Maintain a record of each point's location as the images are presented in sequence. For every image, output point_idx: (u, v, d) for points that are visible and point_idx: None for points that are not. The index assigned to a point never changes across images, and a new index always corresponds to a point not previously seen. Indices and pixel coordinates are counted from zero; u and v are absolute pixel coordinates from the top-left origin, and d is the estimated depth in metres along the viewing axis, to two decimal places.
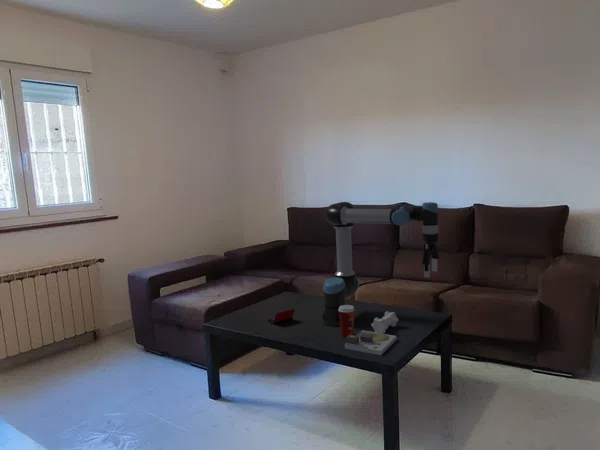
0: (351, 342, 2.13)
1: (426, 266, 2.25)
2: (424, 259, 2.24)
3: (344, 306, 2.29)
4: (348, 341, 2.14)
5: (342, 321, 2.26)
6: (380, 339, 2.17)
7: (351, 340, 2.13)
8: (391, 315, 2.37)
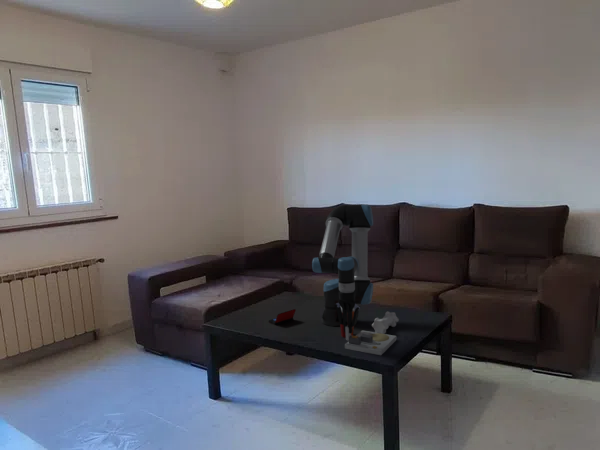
0: (353, 342, 2.12)
1: None
2: None
3: None
4: (350, 341, 2.13)
5: None
6: (380, 339, 2.17)
7: (354, 340, 2.12)
8: (391, 315, 2.37)
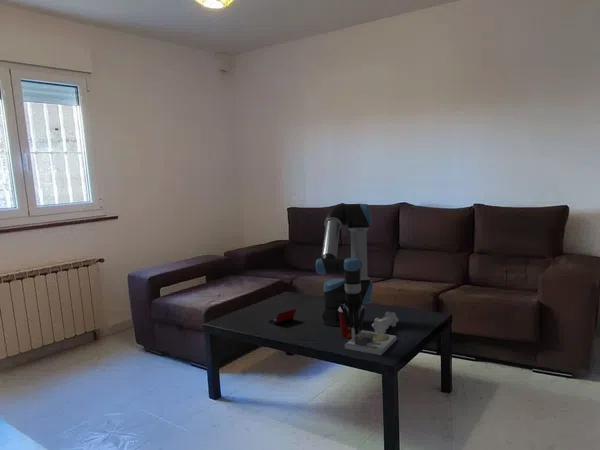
0: (359, 343, 2.11)
1: None
2: None
3: None
4: (356, 342, 2.12)
5: (342, 321, 2.26)
6: (380, 339, 2.17)
7: (360, 341, 2.10)
8: (391, 315, 2.37)
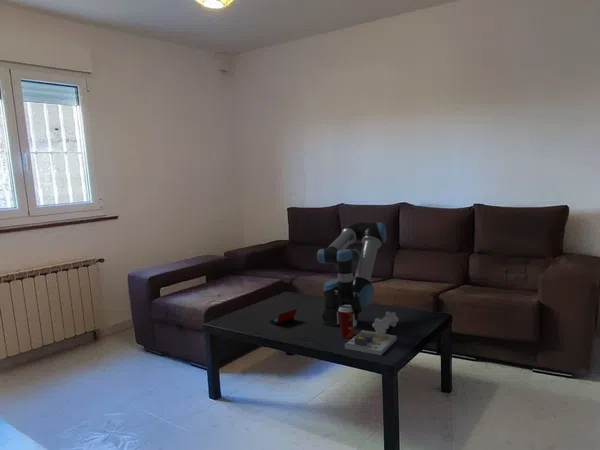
0: (359, 343, 2.11)
1: None
2: None
3: (344, 306, 2.29)
4: (356, 342, 2.12)
5: (342, 321, 2.26)
6: (380, 339, 2.17)
7: (360, 341, 2.10)
8: (391, 315, 2.37)
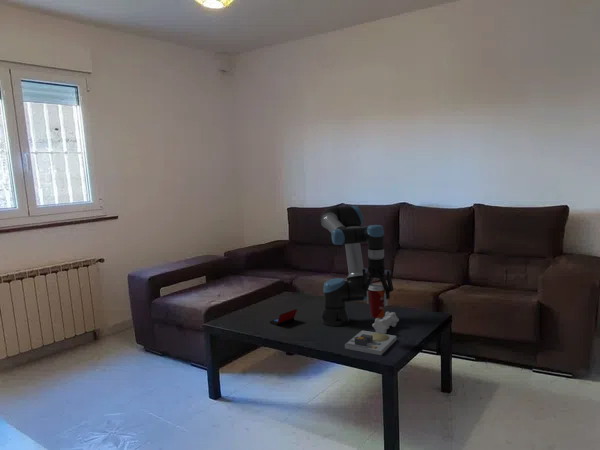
0: (359, 343, 2.11)
1: None
2: None
3: (374, 285, 2.18)
4: (356, 342, 2.12)
5: (373, 300, 2.15)
6: (380, 339, 2.17)
7: (360, 341, 2.10)
8: (391, 315, 2.37)
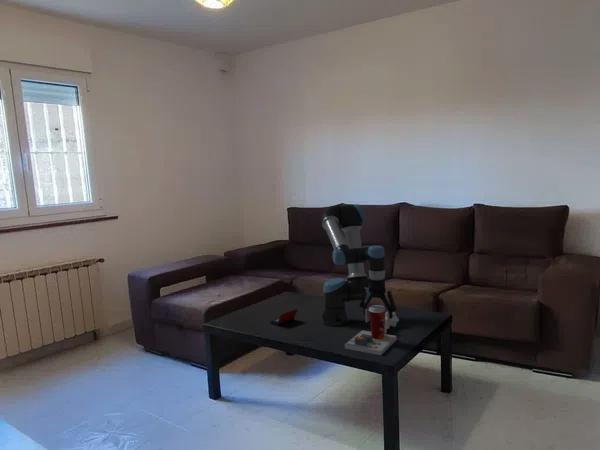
0: (359, 343, 2.11)
1: None
2: None
3: (375, 306, 2.19)
4: (356, 342, 2.12)
5: (373, 322, 2.17)
6: (380, 339, 2.17)
7: (360, 341, 2.10)
8: None
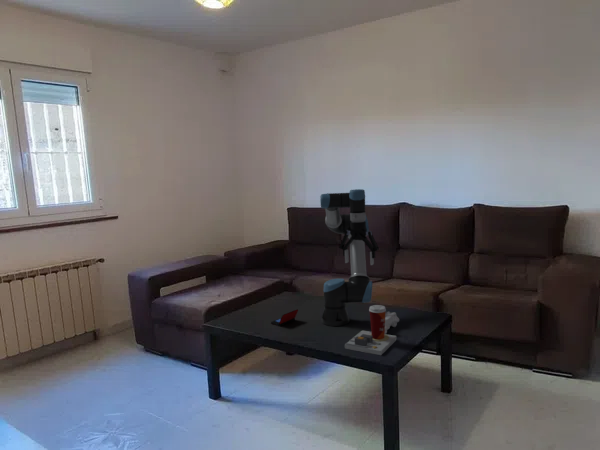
0: (359, 343, 2.11)
1: None
2: None
3: (375, 306, 2.19)
4: (356, 342, 2.12)
5: (373, 322, 2.17)
6: (380, 339, 2.17)
7: (360, 341, 2.10)
8: (392, 315, 2.37)
